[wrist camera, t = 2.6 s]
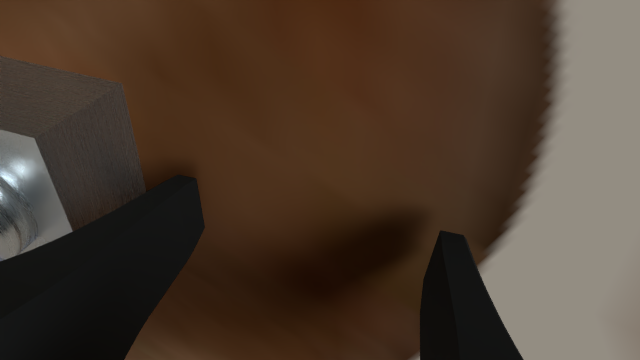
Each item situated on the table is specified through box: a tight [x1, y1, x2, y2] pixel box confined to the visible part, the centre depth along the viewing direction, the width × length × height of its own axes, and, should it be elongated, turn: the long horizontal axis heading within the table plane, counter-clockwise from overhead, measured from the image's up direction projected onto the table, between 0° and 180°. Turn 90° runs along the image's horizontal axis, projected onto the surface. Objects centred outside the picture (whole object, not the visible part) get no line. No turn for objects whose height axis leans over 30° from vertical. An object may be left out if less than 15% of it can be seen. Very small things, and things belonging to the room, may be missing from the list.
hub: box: [0, 56, 146, 261], centre depth 13 cm, size 6×6×5 cm
